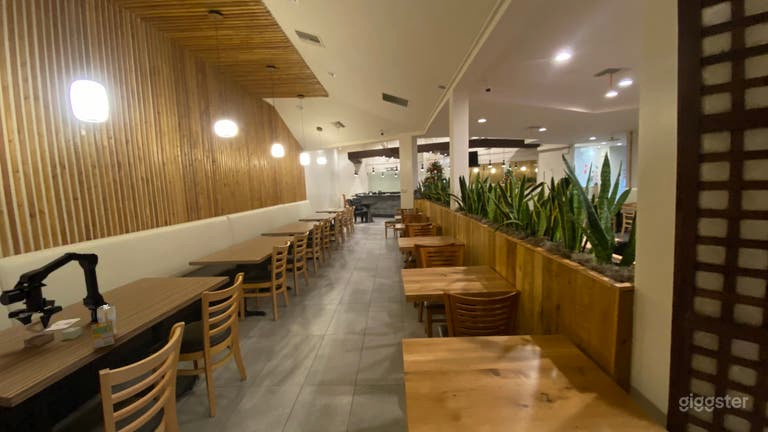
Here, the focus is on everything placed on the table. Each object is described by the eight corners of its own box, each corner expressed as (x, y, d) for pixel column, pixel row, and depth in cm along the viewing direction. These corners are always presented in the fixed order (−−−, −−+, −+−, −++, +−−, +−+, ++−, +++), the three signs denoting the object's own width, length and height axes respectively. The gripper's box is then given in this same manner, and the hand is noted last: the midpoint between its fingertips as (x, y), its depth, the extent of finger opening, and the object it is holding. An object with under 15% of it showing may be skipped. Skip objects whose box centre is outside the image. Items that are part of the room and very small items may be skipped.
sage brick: (81, 334, 159) (80, 327, 158) (73, 338, 154) (72, 331, 153) (70, 335, 158) (70, 328, 157) (62, 340, 153) (61, 332, 152)
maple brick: (51, 327, 153) (50, 319, 153) (40, 332, 147) (38, 324, 147) (36, 328, 152) (35, 320, 152) (25, 334, 146) (24, 326, 146)
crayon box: (115, 341, 149) (112, 318, 148) (114, 343, 147) (111, 320, 146) (94, 346, 145) (91, 323, 144) (93, 349, 142) (91, 325, 141)
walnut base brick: (54, 339, 154) (53, 332, 153) (39, 346, 147) (38, 339, 146) (40, 340, 153) (39, 332, 153) (24, 347, 146) (23, 339, 146)
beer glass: (97, 339, 152) (94, 310, 151) (102, 333, 158) (99, 306, 157) (115, 335, 155) (112, 307, 154) (119, 330, 161) (116, 303, 160)
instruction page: (81, 318, 180) (81, 317, 180) (65, 328, 166) (65, 327, 166) (59, 321, 176) (59, 320, 176) (41, 331, 163) (41, 331, 163)
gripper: (70, 290, 157) (73, 319, 159) (28, 294, 155) (32, 323, 156) (50, 298, 146) (54, 329, 148) (4, 301, 144) (9, 333, 145)
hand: (38, 328), depth 149 cm, fingers closed on maple brick, 6 cm apart
